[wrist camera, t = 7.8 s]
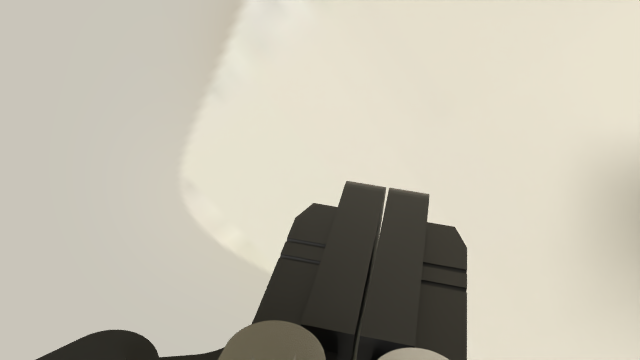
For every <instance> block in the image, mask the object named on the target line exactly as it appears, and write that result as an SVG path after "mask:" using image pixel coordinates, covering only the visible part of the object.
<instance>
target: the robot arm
mask: <svg viewBox="0 0 640 360" xmlns="http://www.w3.org/2000/svg"><path fill="white" fill-rule="evenodd" d="M385 193H386V187H381V186H375V185H369V184H362V183H356V182H350V181H346V184H345V186H344V190H343V193H342V196H341V199H340V202H339V205H338V207H333V206H328V205H322V204H316V203H313V204H312V205H311V206H309V207H308V208H307V209H306V210H305V211H303V212H302V213H301V214H300V215H299V216H297V217H296V218H295V220H294V223H293V225H292V228H291V230H290V232H289V235H288V237H287V242H285V245H284V247H283V250H282V252H281V256H280V258H279V259H278V262H277V264H276V267H275V269H274V272H273V274H272V276H271V279H270V281H269V284H268V286H267V289H266V291H265V294H264V296H263V298H262V301H261V303H260V306H259V308H258V311H257V313H256V316H255V318H254V320H253V322H252V324H251V325H249V326H247V327H245V328H244V329H241V330H240V331H239V332H237V333H236V334H235V335H234V336H233V337H232V338H231V339H230V340H229V341H228V343H227V344H226V346H225V347H224V348H222V349H219V350H217V351H213V352H209V353H205V354H198V355H186V356H172V357H159V356H158V353H157V350H156V349H155V347H154V346H153V344H152V343H151V342H150V341H149V340H148V339H146V338H145V337H143V336H141V335H139V334H137V333H134V332H131V331H126V330H106V331H101V332H97V333H93V334H90V335H87V336H85V337H83V338H80V339H78V340H76V341H74V342H72V343H70V344H68V345H66V346H64V347H61V348H59V349H57V350H55V351H53V352H51V353H49V354H47V355H45V356H43V357H40V358H38V359H36V360H467V293H466V289H467V274H466V272H467V247H466V245H465V244H464V242H463V240H462V238H461V237H460V235H459V233H458V232H457V230H456V228H455V227H452V226H446V225H440V224H434V223H429V222H427V215H428V205H429V194H425V193H418V192H412V191H406V190H400V189H394V188H389V192H388V197H387V202H386V207H385V212H384V217H383V222H382V227H381V221H382V214H383V207H384V200H385ZM380 228H381V232H380ZM379 235H380V237H379Z"/></svg>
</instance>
